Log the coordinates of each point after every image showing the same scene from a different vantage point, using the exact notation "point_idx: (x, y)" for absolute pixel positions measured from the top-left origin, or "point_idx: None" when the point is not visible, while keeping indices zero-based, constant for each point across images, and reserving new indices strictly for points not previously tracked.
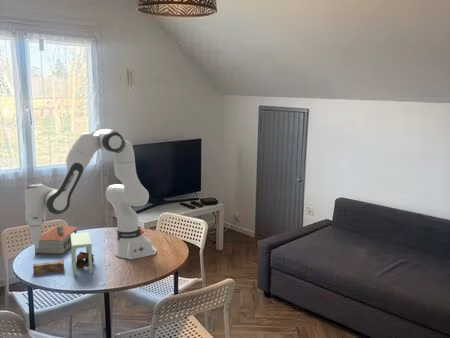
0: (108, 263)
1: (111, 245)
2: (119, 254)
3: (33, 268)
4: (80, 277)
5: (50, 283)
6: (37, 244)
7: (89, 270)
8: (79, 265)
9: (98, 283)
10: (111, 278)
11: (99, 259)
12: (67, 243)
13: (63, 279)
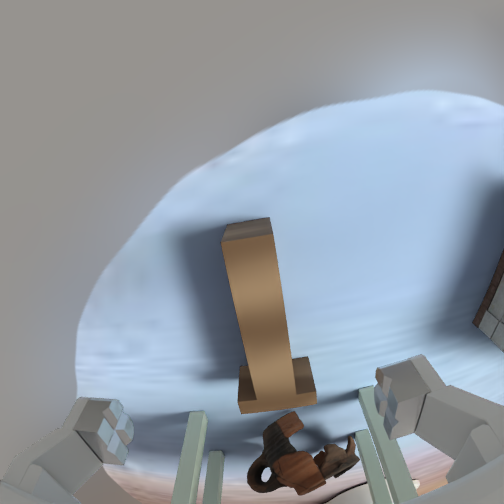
0: None
1: None
2: (348, 498)
3: (222, 238)
4: (172, 429)
5: (104, 333)
6: (75, 456)
7: (208, 461)
8: (268, 439)
9: None
10: (165, 483)
11: None
12: None
13: (150, 380)
